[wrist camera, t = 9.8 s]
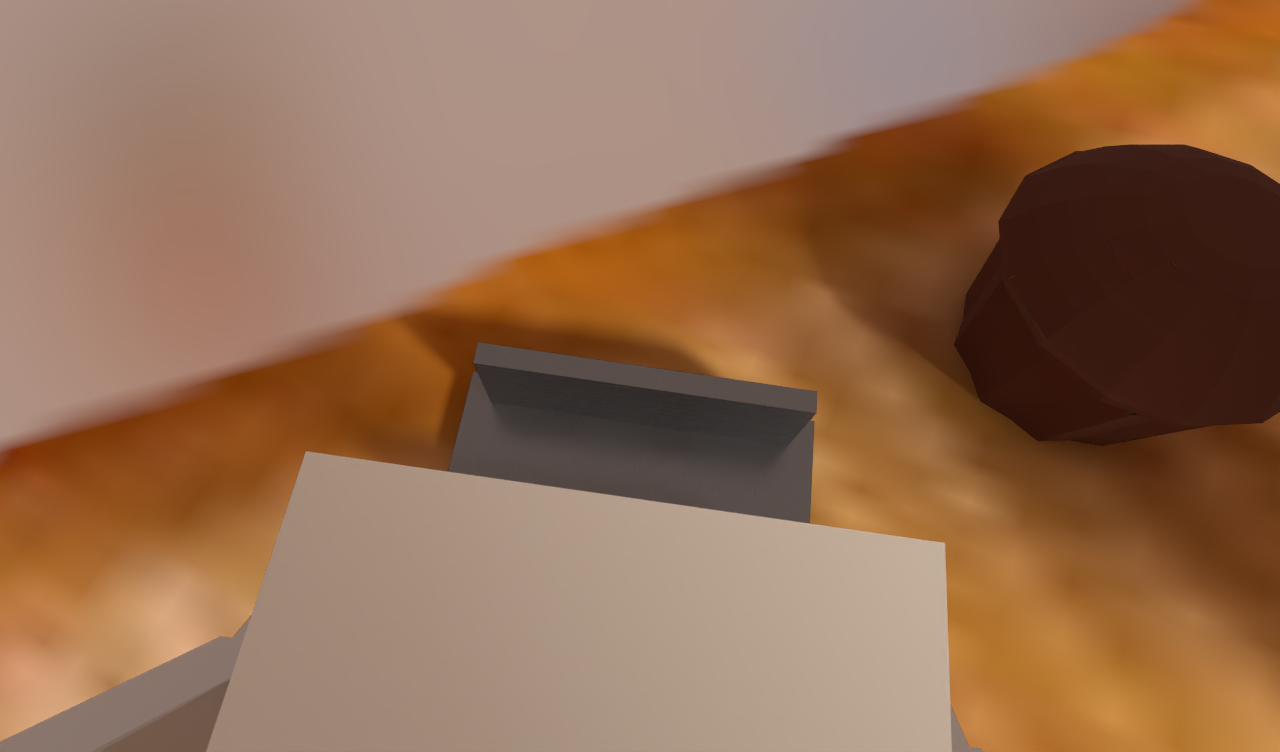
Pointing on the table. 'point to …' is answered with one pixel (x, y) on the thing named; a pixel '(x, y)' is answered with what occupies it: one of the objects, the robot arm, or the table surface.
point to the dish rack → (638, 433)
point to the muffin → (1130, 297)
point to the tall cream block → (579, 625)
